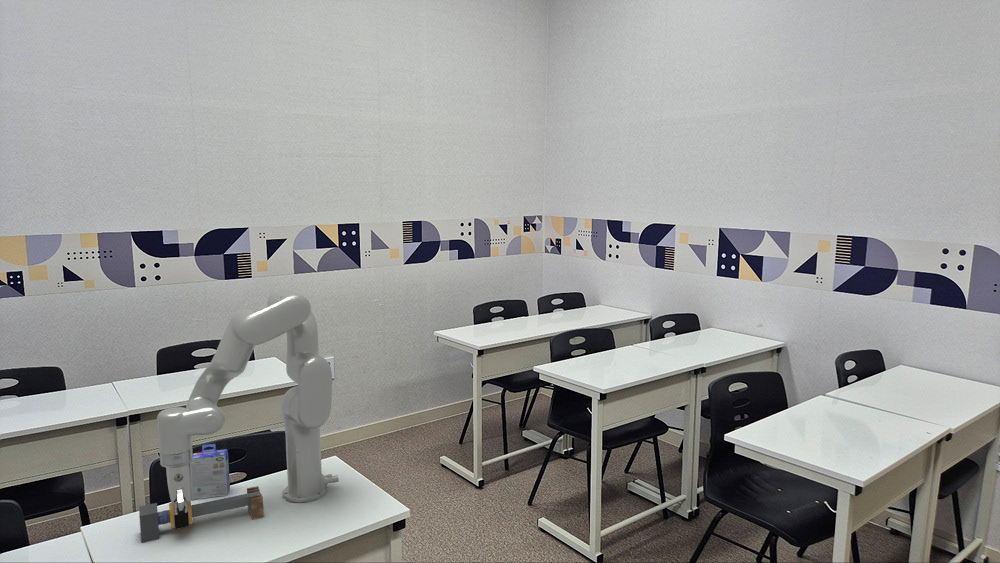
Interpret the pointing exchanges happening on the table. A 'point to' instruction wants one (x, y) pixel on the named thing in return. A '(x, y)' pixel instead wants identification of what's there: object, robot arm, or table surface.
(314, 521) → the table surface
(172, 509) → the tan sliding collar
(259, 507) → the brown wooden block
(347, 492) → the table surface
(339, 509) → the table surface
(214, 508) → the long gray square bar
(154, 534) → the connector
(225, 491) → the ink cartridge box
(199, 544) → the table surface
